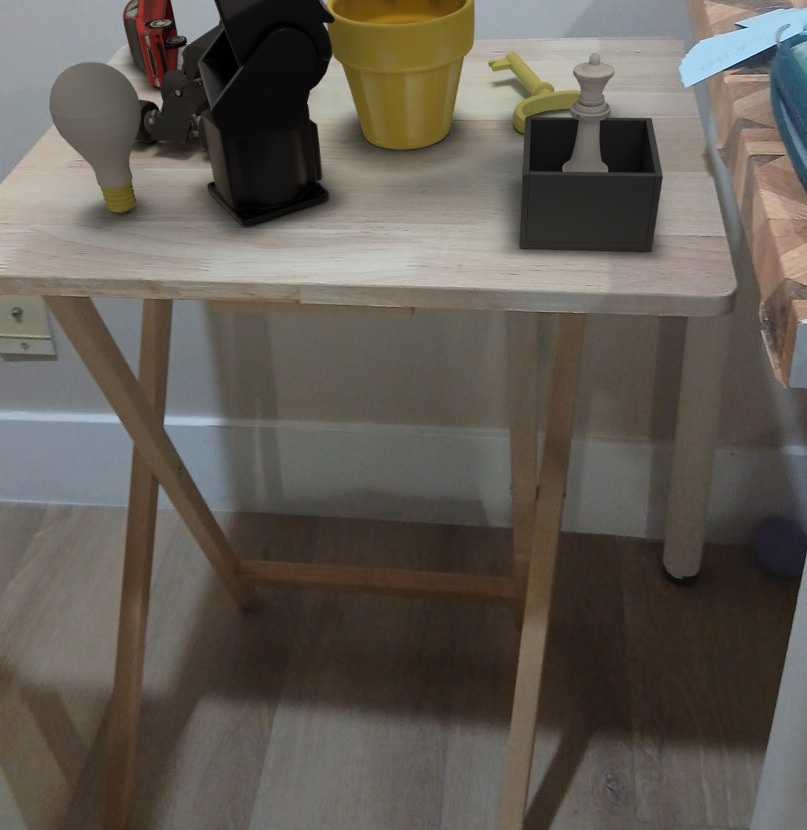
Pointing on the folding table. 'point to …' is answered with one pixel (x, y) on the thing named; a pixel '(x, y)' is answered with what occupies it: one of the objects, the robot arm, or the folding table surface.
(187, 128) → the toy vehicle
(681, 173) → the folding table surface
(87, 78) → the light bulb
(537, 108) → the key
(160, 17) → the toy car
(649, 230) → the bin
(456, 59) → the flower pot
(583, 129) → the chess piece
